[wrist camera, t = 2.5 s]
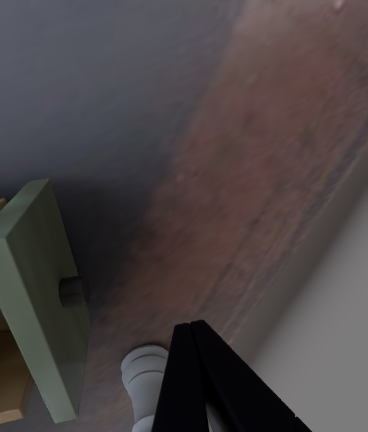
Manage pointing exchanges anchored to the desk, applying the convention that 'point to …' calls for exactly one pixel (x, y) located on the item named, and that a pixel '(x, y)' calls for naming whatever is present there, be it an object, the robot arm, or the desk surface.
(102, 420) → the desk surface
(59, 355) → the drawer
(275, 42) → the desk surface
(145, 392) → the rook chess piece
